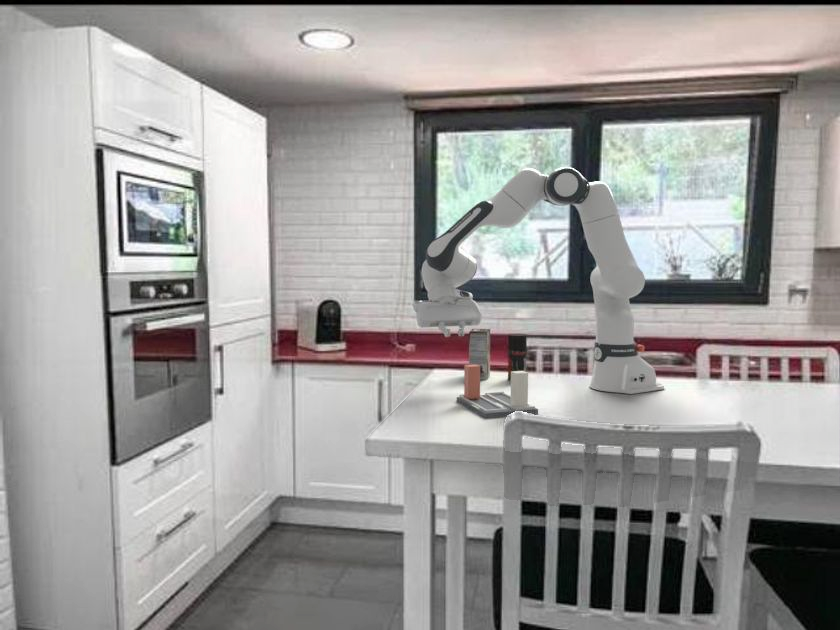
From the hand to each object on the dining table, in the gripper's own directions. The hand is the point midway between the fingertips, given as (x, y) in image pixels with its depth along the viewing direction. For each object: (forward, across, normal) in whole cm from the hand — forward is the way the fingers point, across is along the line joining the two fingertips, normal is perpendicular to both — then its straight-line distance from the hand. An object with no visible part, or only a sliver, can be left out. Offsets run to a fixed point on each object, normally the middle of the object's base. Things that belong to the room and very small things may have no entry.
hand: (455, 335), depth 191 cm
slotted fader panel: (+27, +4, -2) cm, 27 cm away
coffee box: (-2, +17, +27) cm, 32 cm away
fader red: (+21, 0, +2) cm, 21 cm away
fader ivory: (+30, +8, -7) cm, 32 cm away
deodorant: (+4, +27, +21) cm, 35 cm away
